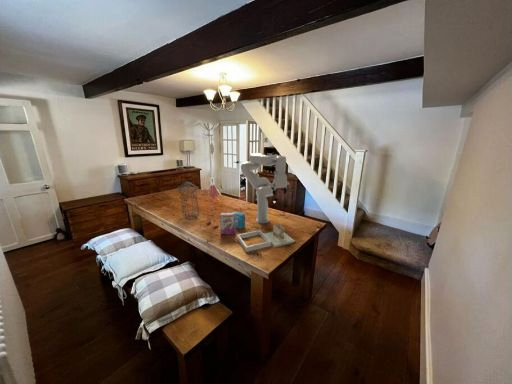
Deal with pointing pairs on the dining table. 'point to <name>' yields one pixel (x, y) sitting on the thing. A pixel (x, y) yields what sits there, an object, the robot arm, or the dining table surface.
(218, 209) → the dining table surface
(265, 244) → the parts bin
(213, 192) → the figurine
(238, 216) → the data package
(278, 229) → the beech box
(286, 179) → the robot arm
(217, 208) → the dining table surface
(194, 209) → the geometric lantern
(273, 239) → the sage board
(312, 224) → the dining table surface
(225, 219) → the candy bar box
